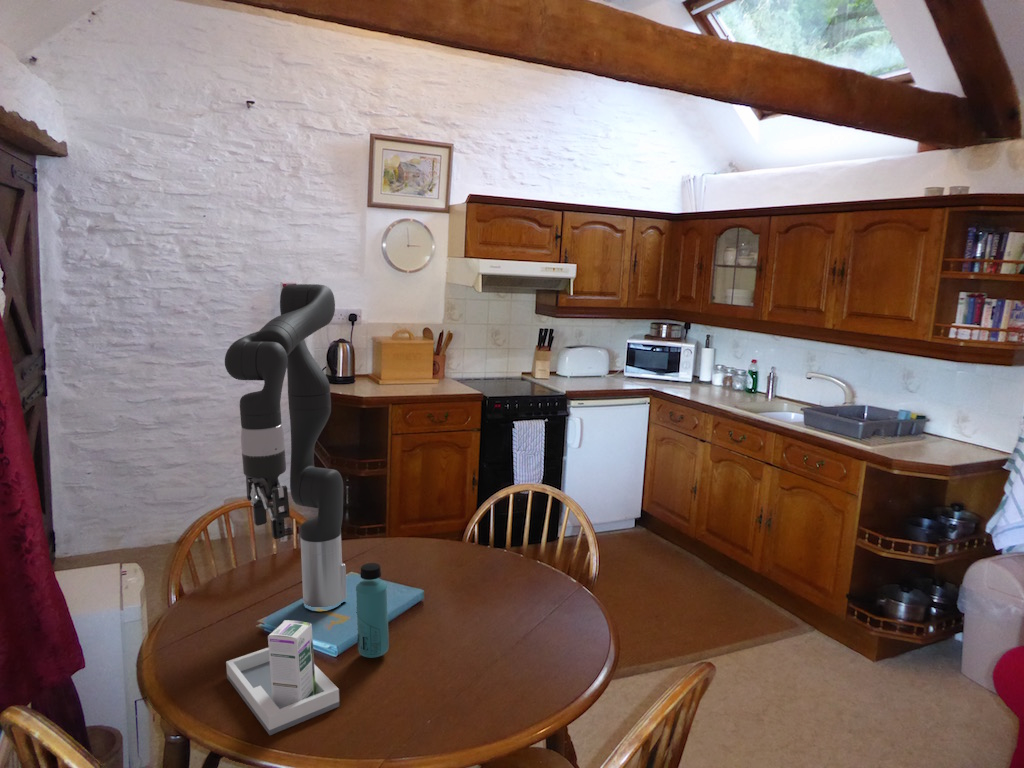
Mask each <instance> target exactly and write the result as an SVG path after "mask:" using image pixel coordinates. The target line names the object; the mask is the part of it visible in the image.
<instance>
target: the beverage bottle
mask: <svg viewBox="0 0 1024 768" xmlns="http://www.w3.org/2000/svg"><path fill="white" fill-rule="evenodd" d="M380 577H382V571H381V565H380V564H379V563H377V562H369V563H364V564H363V565H361V567H360V578H361V579H362V580H361V581H360V582H359V583H358V584H356V587H355V592H356V595H355V596H356V621H357V623H356V625H357V629H356V630H357V639H356V641H357V642H356V643H357V651H358V652H359V655H361V656H362V657H363V658H364V657H365V658H370V659H372V658H373V659H374V658H378V657H381V656H384V655H385V654H386V653H388V651H389V647H390V645H389V644H390V633H389V631H390V630H389V613H388V590H387V589H388V584H387V583H386V581H384V580H382V578H380Z"/></svg>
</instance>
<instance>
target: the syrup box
mask: <svg viewBox="0 0 1024 768" xmlns="http://www.w3.org/2000/svg"><path fill="white" fill-rule="evenodd" d="M312 626H313V625H312V623H311V622H305V621H301V620H289V619H287V620H286V619H284V620H283V621H282V623H281V624H279V625H278V626H277V627H276V628H275V629H274V630H273V631H272V632H271V633H269V635H267V641H268V642H267V643H268V647H269V661H270V674H271V687H272V700H273V702H274V703H275V704H276V705H277V707H278V708H279V709H281V708H284V707H286V706H289V705H291V704H294V703H296V702H299V701H301V700H304V699H306V698H309V697H311V696H314V695H315V694H316V686H315V670H314V664H315V656H314V654H315V653H314V641H313V627H312Z"/></svg>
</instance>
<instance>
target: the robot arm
mask: <svg viewBox="0 0 1024 768" xmlns="http://www.w3.org/2000/svg"><path fill="white" fill-rule="evenodd" d="M279 311H280V315H278V316H276V317H274V318H273V319H270V320H269V321H268V322H267V323H266V324H264V326H263V327H262V328H260V329H259V331H255V332H253V333H250V334H247V335H245V336H242V337H241V338H239V339H237V340H235V341H234V342H233V343H231V345H230V346H229V347H228V349H227V351H226V353H225V356H224V366H225V370H226V372H227V373H228V375H229V376H230V377H232V378H234V379H236V380H237V381H238V380H239V381H263V382H264V384H263V387H262V389H261V390H259V391H253V392H249V393H245V394H244V395H242V396H241V397H240V399H239V416H240V425H241V428H240V429H241V431H240V433H241V434H240V445H241V446H240V447H241V456H242V457H241V458H242V470H243V475H244V476H245V484H246V487H245V488H246V499H247V501H248V502H249V501H250V505H251V506H252V507H253V508H252V511H253V512H252V513H253V521H254V522H253V523H254V525H256V527H257V526H262V525H265V524H267V522H268V519H267V518H268V516H267V511H268V513H269V516H270V517H269V518H270V523H271V524H270V525H271V537H272V538H273V539H274V540H278V539H282V538H284V537H286V530H285V529H286V526H285V519H287V518H290V515H291V513H290V503H289V493H288V487H287V485H282V486H281V483H280V481H279V477H280V476H281V475H282V474H284V473H285V472H286V470H287V464H286V463H287V462H286V459H287V458H286V447H285V446H286V445H285V437H284V436H285V434H284V430H283V425H282V409H281V408H282V407H281V399H282V398H281V397H282V391H283V385H284V381H285V377H286V375H287V399H288V413H289V423H290V445H291V446H290V469H289V470H290V472H289V491H290V495H291V499H292V500H293V502H294V503H295V504H296V505H298V506H301V507H307V508H313V509H317V516H316V517H312V518H309V519H306V520H305V521H303V522H302V523H301V524H300V528H299V533H300V534H299V535H300V536H299V538H300V556H301V558H300V561H301V576H302V577H301V580H302V581H301V582H302V600H303V601H302V602H304V604H306V605H308V606H311V607H328V606H333V605H336V604H337V603H339V602H341V601H342V600H343V599H346V598H348V597H347V594H348V593H347V569H346V568H347V567H346V564H345V563H344V562H343V555H342V553H343V551H342V550H343V549H342V529H341V528H342V524H343V517H344V481H343V480H344V479H343V477H342V475H341V473H340V472H339V471H338V470H337V469H334V468H333V469H332V468H327V467H326V468H324V467H318V466H317V467H316V466H315V459H314V457H315V447H316V442H317V440H318V439H319V437H320V435H321V433H322V431H323V429H324V428H325V426H326V425H327V423H328V421H329V418H330V416H331V412H332V401H331V400H332V398H331V385H330V382H329V379H328V377H327V375H326V374H325V372H324V371H323V369H322V368H321V367H320V365H319V363H318V362H317V361H316V359H315V358H314V357H313V355H312V354H311V352H310V350H309V348H308V346H307V344H306V341H305V339H306V338H308V337H310V336H312V335H313V334H314V333H316V332H317V331H319V330H321V329H322V328H325V327H326V326H327V325H329V324H330V323H331V322H332V320H333V318H334V316H335V313H336V312H335V311H336V300H335V295H334V292H333V291H332V289H331V288H330V287H329V286H327V285H324V284H315V283H312V284H309V283H304V284H303V283H299V284H298V283H297V284H296V283H293V284H292V283H291V284H285V285H284V286H283V287H282V289H281V292H280V296H279ZM286 373H287V374H286Z"/></svg>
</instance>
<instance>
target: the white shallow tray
mask: <svg viewBox="0 0 1024 768" xmlns="http://www.w3.org/2000/svg"><path fill="white" fill-rule="evenodd" d="M225 665H226V679H227V680H228V682H229V683H230V684H231V685H232V687H233V689H234V690H235V691H236V692H237V693H238V695H239V696H240V697H241V699H242V701H243V702H244V703H245V704H246V706H247V707H248V708H249V709H250V711H251V712H252V714H253V715H254V717H256V719H257V720H258V722H259V723H260V724H261V726H262V727H263V729H264V730H265V731H266V732H267V734H268V735H269V736H272V735H275V734H277V733H279V732H282V731H284V730H287V729H289V728H291V727H294V726H296V725H299V724H301V723H303V722H305V721H309V720H310V719H313V718H315V717H318V716H319V715H322V714H325V713H327V712H329V711H331V710H334V709H336V708H340V689H339V688H338V687H337V686H336V684H334V682H332V681H331V680H330V678H329V677H328V676H327V675H326V674H325V673H324V672H323V671H322V670H321V669H320V668H319V667H318V666H317V665H316V664H315V663H314V670H315V686H316V694H315V695H314V696H311V697H309V698H306V699H304V700H301V701H299V702H296V703H294V704H291V705H289V706H286V707H284V708H281V709H279V708H278V707H277V705H276V704H275V703H274V702H273V700H272V687H271V674H270V661H269V646H268V647H265V648H262V649H260V650H257V651H254V652H250V653H247V654H245V655H242V656H239V657H236V658H233V659H230V660H227V661H226V662H225Z"/></svg>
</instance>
